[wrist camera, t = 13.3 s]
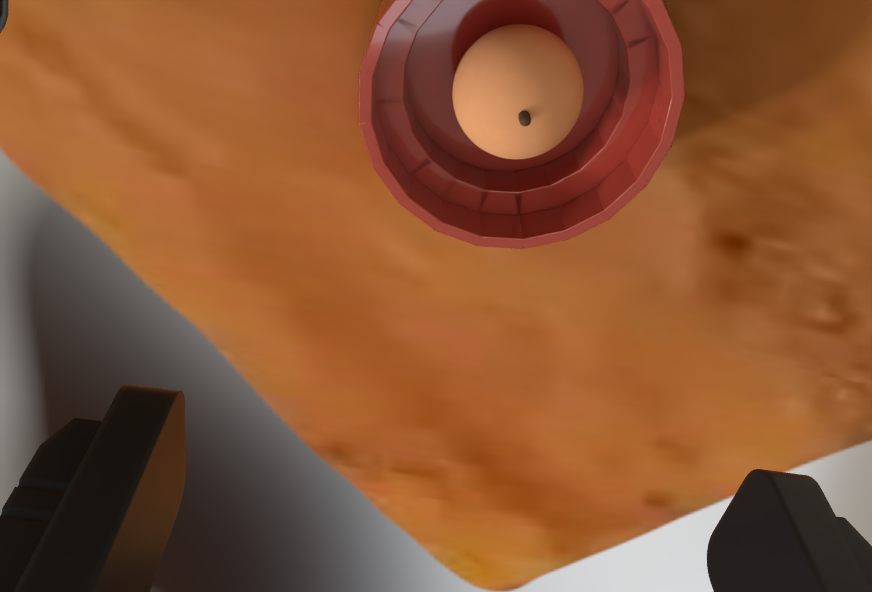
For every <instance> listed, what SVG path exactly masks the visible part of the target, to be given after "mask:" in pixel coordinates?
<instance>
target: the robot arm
mask: <svg viewBox="0 0 872 592" xmlns="http://www.w3.org/2000/svg"><path fill="white" fill-rule="evenodd" d="M185 473H186V446H185V399H184V394H183V392H182V391H176V390H168V389H161V388H153V387H146V386H138V385H130V384H125V385H123V386H122V387H121V388H120V390H119V391H118V393H117V394H116V396H115V398H114V400H113V402H112V404H111V406H110V408H109V410H108V412H107V413H106V415H105V417H104V419H103V421H102V422H101V421H94V420H85V419H78V418H74V419H73V420H71V421H70V422H69V423H68V424H66V425H65V426H64V427H63V428H61V429H60V430H59V431H58V432H56V433H55V434H54V435H53V436H52V437H50V438H49V439H48V440H46V441H45V442H44V443H43V444H41V445H40V447H39V448H38V450H37V451H36V454H35V455H34V457H33V458H32V460H31V462H30V463H29V465H28V467H27V468H26V470H25V472H24V473H23V475H22V477H21V478H20V481H19V485H18V487H15V488H14V490H13V492H12V493H11V495H10V497H9V498H8V500H7V502H6V503H5V505H4V507H3V509H2V514H1V516H0V592H150V589H151V586H152V583H153V581H154V578H155V575H156V572H157V569H158V567H159V564H160V561H161V558H162V555H163V553H164V549H165V547H166V544H167V541H168V539H169V536H170V533H171V530H172V527H173V525H174V522H175V519H176V516H177V513H178V510H179V506H180V502H181V498H182V494H183V488H184V482H185ZM707 567H708V573H709V578H710V581H711V584H712V587H713V590H714V592H872V546H871V545H870V544H869V543H868V542H867V541H866V540H865V539H864V538H863V537H862V536H861V535H860V534H859V533H858V531H857V530H856V529H855V528H854V527H853V526H852V525H851V524H850V523H849V522H848V521H847V520H846V519H845V518H843V517H836V516H835V514H834V512H833V510H832V508H831V506H830V505H829V503H828V501H827V499H826V497H825V495H824V493H823V492H822V490H821V488H820V486H819V485H818V483H817V482H816V481H815V480H814V479H813V478H811V477H809V476H806V475H798V474H791V473H784V472H776V471H769V470H761V469H756V470H753V471H751V472H750V473H749V474H748V475H747V476H746V478H745V479H744V481H743V483H742V484H741V486H740V488H739V489H738V491H737V493H736V494H735V496H734V498H733V499H732V501H731V503H730V504H729V506H728V508H727V510H726V511H725V513H724V515H723V516H722V518H721V520H720V521H719V523H718V524H717V526H716V528H715V530H714V531H713V533H712V535H711V538H710V540H709V544H708V550H707Z"/></svg>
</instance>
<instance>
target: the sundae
mask: <svg viewBox="0 0 872 592" xmlns="http://www.w3.org/2000/svg"><path fill="white" fill-rule="evenodd" d="M7 17H8V0H0V33H1V31H2V30H3V28H4V26H5V24H6V21H7Z"/></svg>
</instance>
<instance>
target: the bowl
mask: <svg viewBox="0 0 872 592" xmlns="http://www.w3.org/2000/svg"><path fill="white" fill-rule="evenodd" d="M512 24H527V25H533V26H537V27H541V28H543V29H545V30H548V31H550V32H551V33H553V34H555V35H556V36H558V37H559V38H560V39H561V40H562V41H563V42H564V43H565V44H566V45H567V46H568V47H569V48H570V49H571V51H572V52H573V54H574V55H575V57H576V59H577V61H578V63H579V66H580V69H581V72H582V77H583V83H584V94H583V103H582V107H581V111H580V114H579V117H578V119H577V121H576V123H575V125H574V126H573V128H572V129H571V131H570V132H569V134H568V135H567V136H566V137H565V138H564V139H563V140H562V141H561V142H560V143H559V144H558V145H556V146H555V147H554V148H552V149H551V150H549V151H547V152H545V153H543V154H541V155H538V156H535V157H531V158H526V159H505V158H501V157H497V156H495V155H492V154H490V153H488V152H486V151H484V150H482V149H481V148H479V147H478V146H477V145H475V144H474V143H473V142H472V141H471V140H470V139H469V137H468V136H467V135H466V134H465V132H464V131H463V129H462V128H461V126H460V124H459V122H458V120H457V117H456V114H455V110H454V106H453V99H452V89H453V81H454V76H455V73H456V70H457V67H458V65H459V63H460V61H461V59H462V57H463V56H464V54H465V53H466V51H467V50H468V49H469V47H470V46H471V45H472V44H473V43H474V42H475V41H476V40H478V39H479V38H480V37H481V36H483V35H484V34H486V33H488V32H489V31H492V30H494V29H496V28H499V27H502V26H506V25H512ZM681 45H682V44H681V41H680V39H679V37H678V34H677V32H676V30H675V27H674V25H673V23H672V20H671V18H670V16H669V14H668V11H667V9H666V7H665V4H664V2H663V0H382V1H381V4H380V7H379V10H378V13H377V16H376V19H375V21H374V24H373V27H372V30H371V33H370V36H369V39H368V42H367V46H366V50H365V53H364V57H363V60H362V64H361V68H360V73H359V117H358V121H359V126H360V129H361V132H362V135H363V138H364V141H365V144H366V147H367V151H368V154H369V157H370V160H371V163H372V166H373V168H374V170H375V171H376V173H377V174H378V175H379V177H380V178H381V179H382V181H383V182H384V184H385V185H386V186H387V188H388V189H389V190H390V192H391V193H392V195H393V196H394V197H395V199H396V200H397V201H398V203H399V204H400V205H401V206H403V207H404V208H405V209H407V210H408V211H409V212H411V213H412V214H413V215H415V216H416V217H418V218H419V219H420V220H422V221H423V222H424V223H426V224H427V225H428V226H430V227H431V228H432V229H434V230H435V231H437V232H440V233H443V234H445V235H448V236H451V237H454V238H457V239H459V240H462V241H465V242H468V243H471V244H473V245H476V246H478V245H479V246H484V247H500V248H516V249H523V248H524V249H526V248H531V247H535V246H540V245H545V244H550V243H555V242H559V241H564V240H568V239H571V238H573V237H575V236H577V235H579V234H581V233H583V232H585V231H587V230H589V229H591V228H593V227H595V226H597V225H599V224H601V223H603V222H605V221H607V220H609V219H610V218H611V217H613V216H614V215H615V214H616V213H617V212H618V211H619V210H620V209H622V208H623V207H624V206H625V205H626V204H627V203H628V202H629V201H630V200H632V199H633V198H634V197H635V196H636V195H637V194H638V193H639V192H640V191H642V190H643V189H644V188H645V187H646V186H647V185H648V183H649V181H650V180H651V178H652V177H653V175H654V173H655V172H656V170H657V168H658V167H659V165H660V164H661V162H662V160H663V159H664V157H665V156H666V154H667V152H668V151H669V149H670V148H671V146H672V144H673V141H674V137H675V133H676V129H677V126H678V122H679V118H680V114H681V110H682V107H683V103H684V99H685V83H684V67H683V51H682V46H681Z"/></svg>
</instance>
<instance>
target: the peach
mask: <svg viewBox="0 0 872 592" xmlns="http://www.w3.org/2000/svg"><path fill="white" fill-rule="evenodd" d="M583 94H584V83H583V77H582V72H581V69H580V66H579V63H578V61H577V59H576V57H575V55H574V54H573V52H572V51H571V49H570V48H569V47H568V46H567V45H566V44H565V43H564V42H563V41H562V40H561V39H560V38H559V37H558V36H556V35H555V34H553V33H551V32H550V31H548V30H545V29H543V28H541V27H537V26H533V25H527V24H512V25H506V26H502V27H499V28H496V29H494V30H492V31H489V32H488V33H486V34H484V35H483V36H481V37H480V38H479V39H478V40H476V41H475V42H474V43H473V44H472V45H471V46H470V47H469V49H468V50H467V51H466V53H465V54H464V56H463V57H462V59H461V61H460V63H459V65H458V67H457V70H456V73H455V76H454V81H453V89H452V99H453V106H454V110H455V114H456V117H457V120H458V122H459V124H460V126H461V128H462V129H463V131H464V132H465V134H466V135H467V136H468V137H469V139H470V140H471V141H472V142H473V143H474V144H475V145H477V146H478V147H479V148H481V149H482V150H484V151H486V152H488V153H490V154H492V155H495V156H497V157H501V158H505V159H526V158H531V157H535V156H538V155H541V154H543V153H545V152H547V151H549V150H551V149H552V148H554V147H555V146H556V145H558V144H559V143H560V142H561V141H562V140H563V139H564V138H565V137H566V136H567V135H568V134H569V132H570V131H571V129H572V128H573V126H574V125H575V123H576V121H577V119H578V117H579V114H580V111H581V107H582V103H583Z"/></svg>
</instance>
